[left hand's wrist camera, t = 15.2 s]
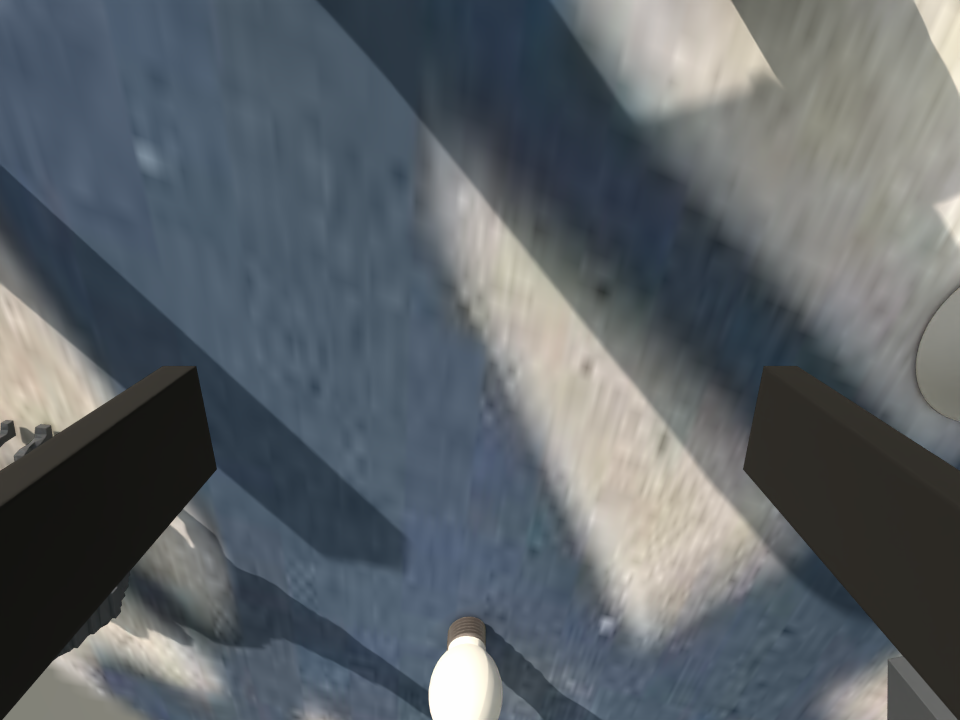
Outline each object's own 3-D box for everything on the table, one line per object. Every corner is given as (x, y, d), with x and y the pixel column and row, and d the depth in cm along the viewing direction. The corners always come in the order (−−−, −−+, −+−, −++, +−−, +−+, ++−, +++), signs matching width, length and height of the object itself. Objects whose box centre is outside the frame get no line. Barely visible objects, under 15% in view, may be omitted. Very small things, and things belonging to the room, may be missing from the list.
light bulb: (460, 595, 53) (456, 700, 43) (513, 626, 55) (521, 735, 44) (421, 636, 55) (408, 745, 45) (473, 665, 56) (472, 777, 46)
